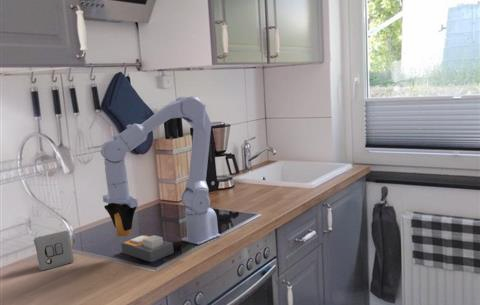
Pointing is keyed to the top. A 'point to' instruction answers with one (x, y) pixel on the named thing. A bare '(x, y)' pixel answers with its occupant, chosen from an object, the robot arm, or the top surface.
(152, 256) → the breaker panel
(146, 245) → the button
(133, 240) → the tagged button
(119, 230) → the cap
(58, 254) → the electrical switch
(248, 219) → the top surface
